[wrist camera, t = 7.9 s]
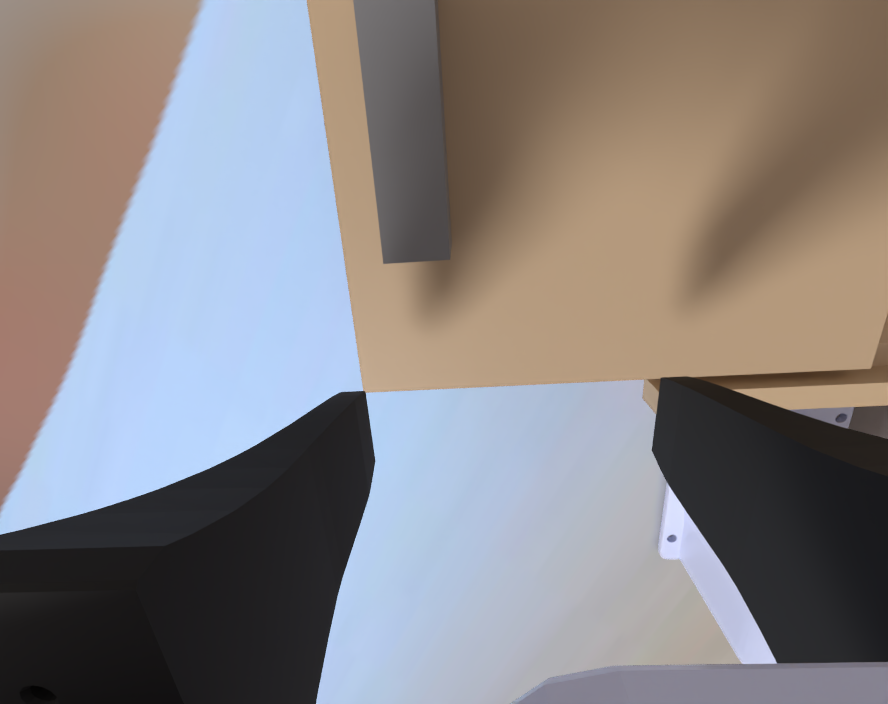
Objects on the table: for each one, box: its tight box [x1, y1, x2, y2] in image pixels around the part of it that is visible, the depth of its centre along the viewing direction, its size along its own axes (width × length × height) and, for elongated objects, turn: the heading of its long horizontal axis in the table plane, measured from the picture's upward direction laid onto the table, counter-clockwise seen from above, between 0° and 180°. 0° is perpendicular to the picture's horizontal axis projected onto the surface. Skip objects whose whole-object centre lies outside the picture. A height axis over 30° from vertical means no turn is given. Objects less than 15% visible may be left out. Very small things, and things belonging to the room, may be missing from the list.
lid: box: [307, 0, 888, 393], centre depth 10 cm, size 15×16×4 cm
